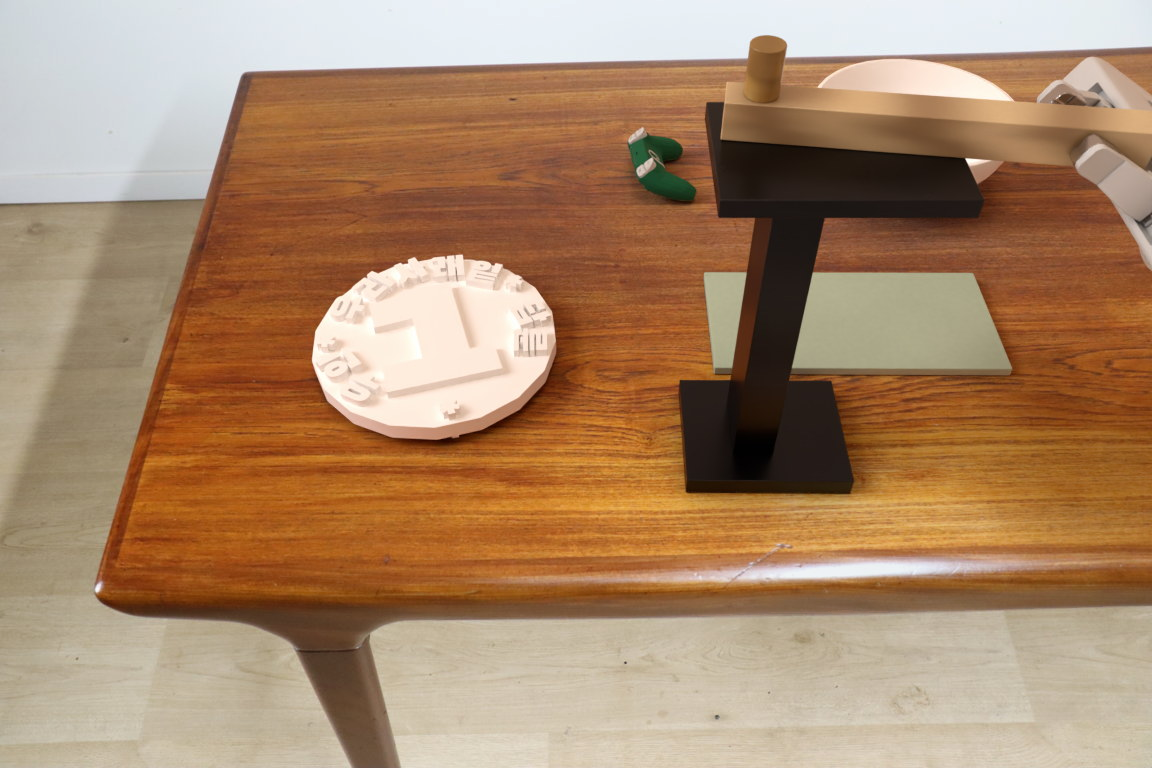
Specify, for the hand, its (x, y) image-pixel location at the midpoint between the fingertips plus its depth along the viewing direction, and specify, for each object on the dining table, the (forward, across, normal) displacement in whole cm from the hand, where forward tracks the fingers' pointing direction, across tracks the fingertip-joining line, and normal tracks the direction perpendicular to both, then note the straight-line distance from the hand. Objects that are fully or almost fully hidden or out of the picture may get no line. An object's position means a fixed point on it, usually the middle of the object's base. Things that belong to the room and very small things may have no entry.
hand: (1065, 122), depth 52 cm
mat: (-10, -13, +26) cm, 31 cm away
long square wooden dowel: (+5, 0, +5) cm, 7 cm away
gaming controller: (+3, -34, +34) cm, 48 cm away
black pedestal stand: (-3, 0, +30) cm, 30 cm away
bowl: (-18, -34, +22) cm, 44 cm away
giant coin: (+20, -9, +44) cm, 49 cm away
